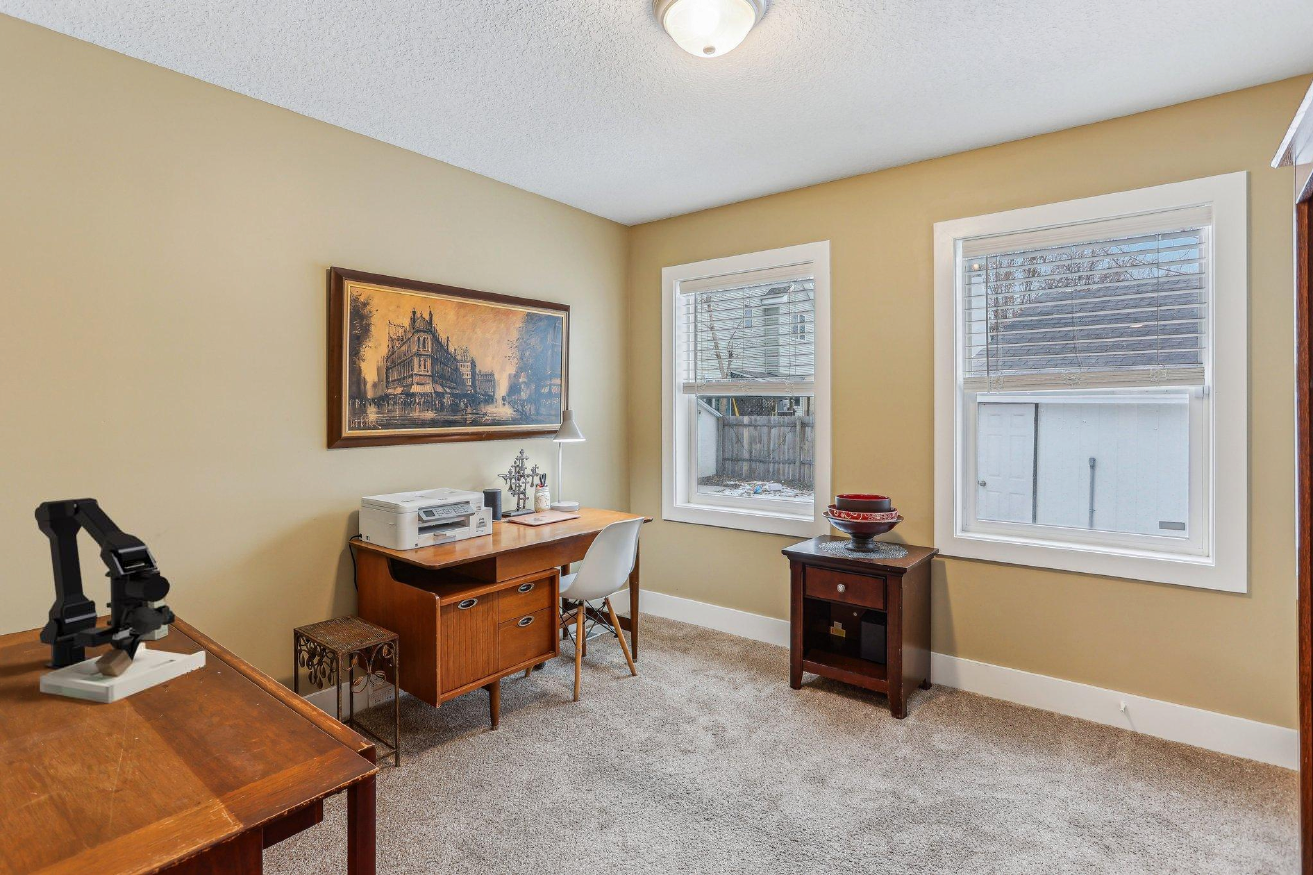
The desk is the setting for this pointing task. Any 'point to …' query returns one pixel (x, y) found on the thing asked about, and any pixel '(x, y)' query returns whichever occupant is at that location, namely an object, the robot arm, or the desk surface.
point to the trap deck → (137, 677)
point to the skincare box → (164, 628)
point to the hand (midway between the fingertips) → (128, 664)
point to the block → (113, 662)
